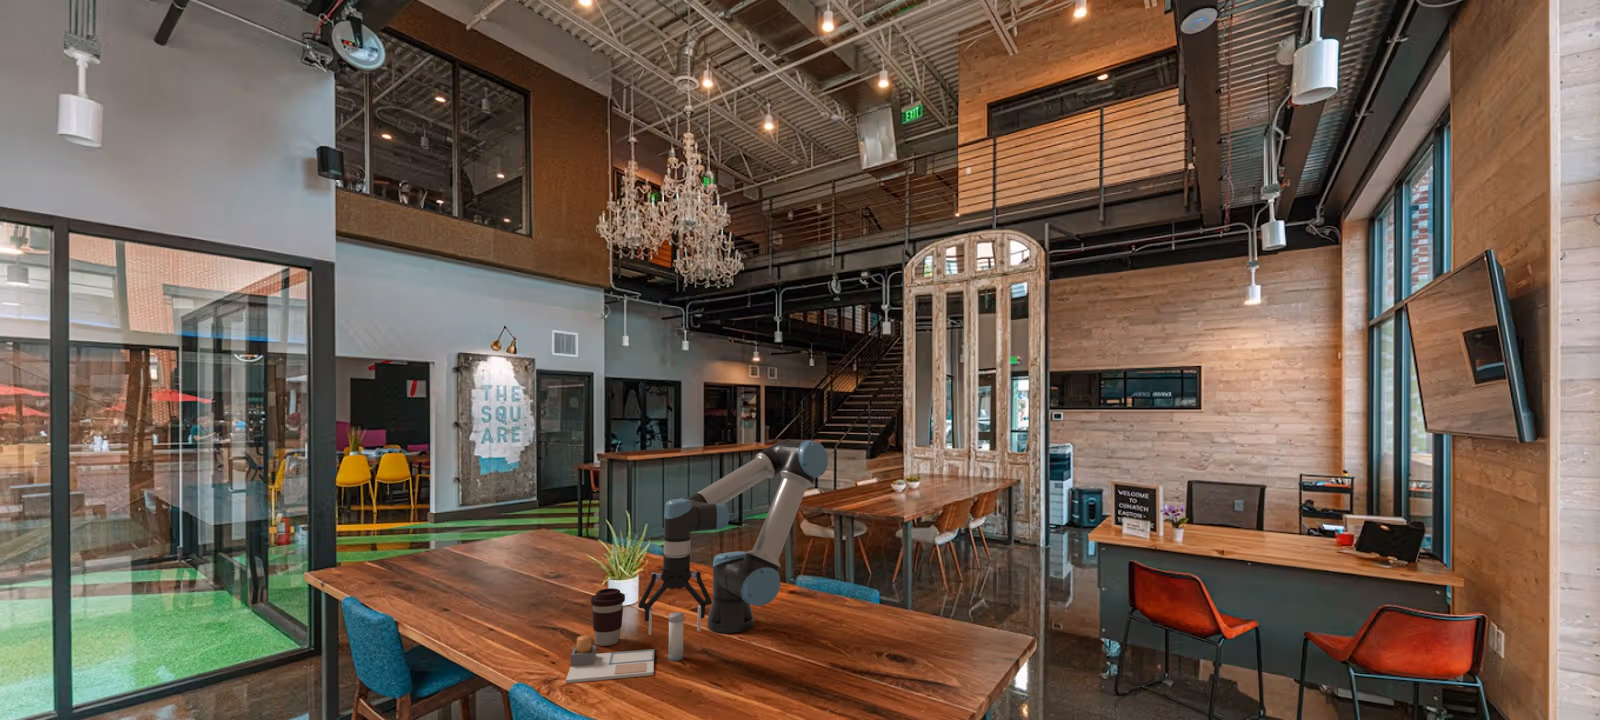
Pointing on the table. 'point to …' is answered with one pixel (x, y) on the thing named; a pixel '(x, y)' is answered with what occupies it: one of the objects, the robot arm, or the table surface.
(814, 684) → the table surface
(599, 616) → the coffee cup
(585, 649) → the button
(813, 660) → the table surface
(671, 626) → the cylinder
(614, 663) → the sheet board
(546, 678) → the table surface
